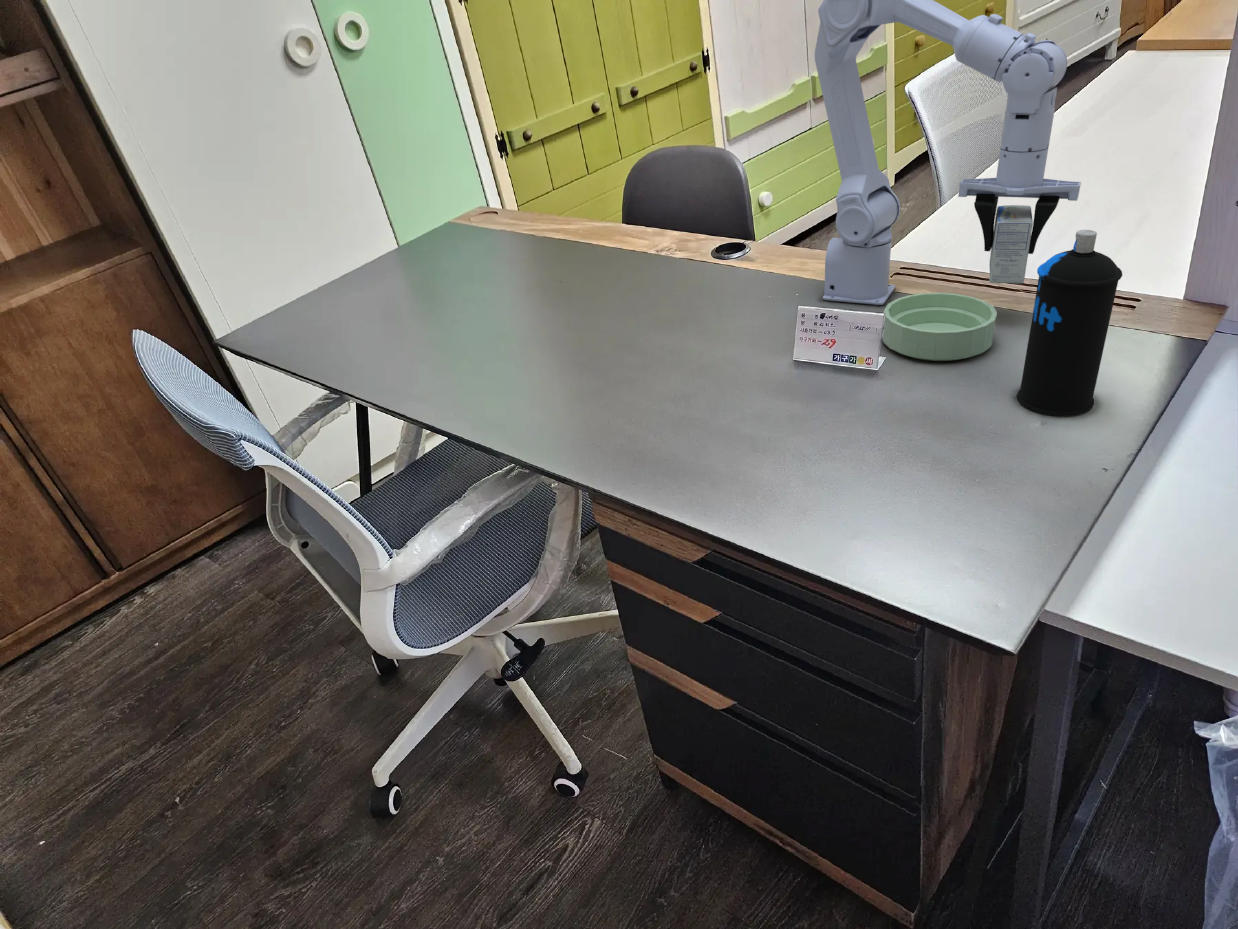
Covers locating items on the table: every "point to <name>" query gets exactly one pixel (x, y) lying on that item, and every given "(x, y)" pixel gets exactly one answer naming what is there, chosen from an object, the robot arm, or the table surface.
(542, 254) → the table surface
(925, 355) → the bowl
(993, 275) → the medicine box
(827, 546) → the table surface
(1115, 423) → the table surface
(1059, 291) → the aerosol can
